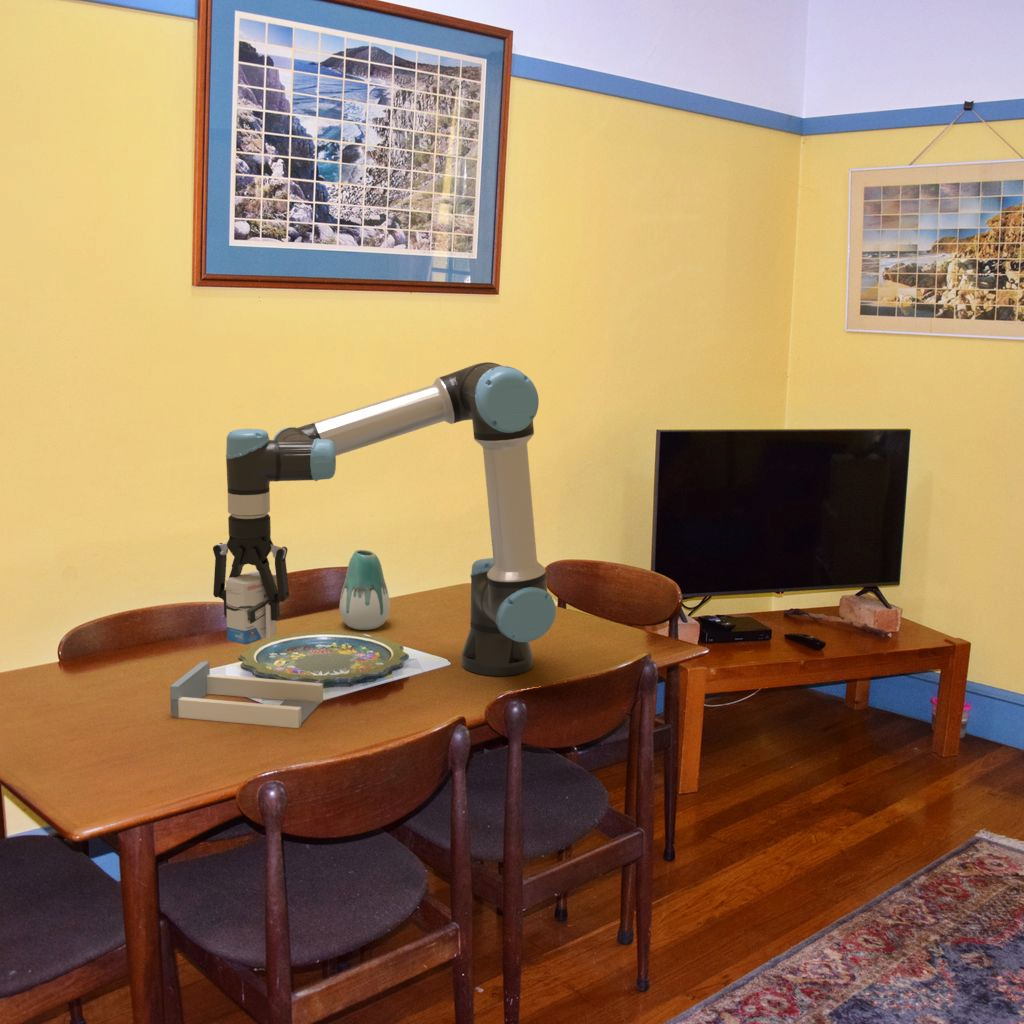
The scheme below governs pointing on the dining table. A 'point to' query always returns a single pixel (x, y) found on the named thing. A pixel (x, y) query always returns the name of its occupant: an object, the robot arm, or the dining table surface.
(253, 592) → the ink box
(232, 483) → the robot arm
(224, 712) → the bay
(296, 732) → the dining table surface
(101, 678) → the dining table surface
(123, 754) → the dining table surface
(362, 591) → the vase
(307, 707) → the mat
